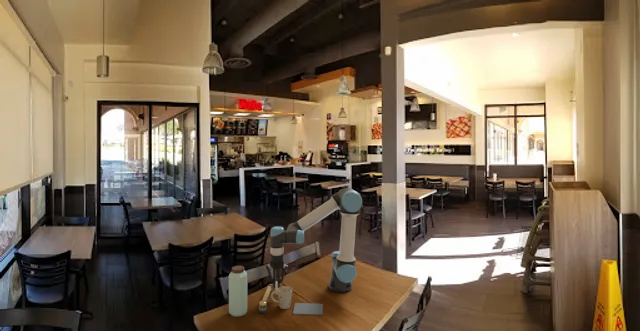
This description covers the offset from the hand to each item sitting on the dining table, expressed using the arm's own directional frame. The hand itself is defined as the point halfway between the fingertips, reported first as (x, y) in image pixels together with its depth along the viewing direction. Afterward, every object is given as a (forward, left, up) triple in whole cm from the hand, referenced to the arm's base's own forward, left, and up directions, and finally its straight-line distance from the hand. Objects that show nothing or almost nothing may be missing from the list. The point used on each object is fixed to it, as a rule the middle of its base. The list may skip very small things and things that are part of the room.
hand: (276, 293), depth 203 cm
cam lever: (+5, +4, -1) cm, 6 cm away
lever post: (+5, +14, -4) cm, 16 cm away
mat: (-19, +10, -4) cm, 22 cm away
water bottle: (+18, +16, -4) cm, 25 cm away
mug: (-4, +7, -4) cm, 9 cm away
